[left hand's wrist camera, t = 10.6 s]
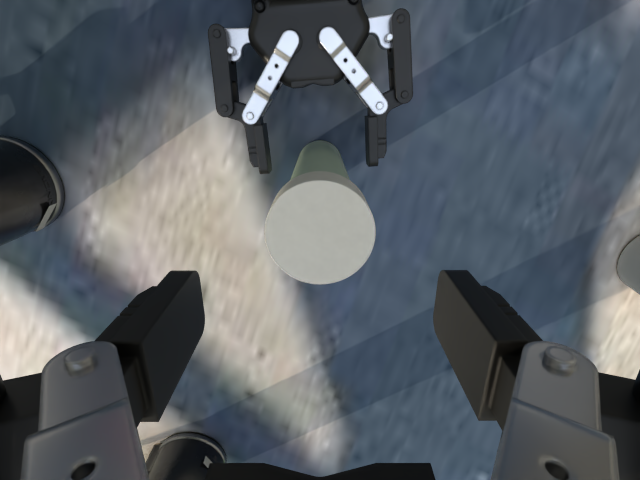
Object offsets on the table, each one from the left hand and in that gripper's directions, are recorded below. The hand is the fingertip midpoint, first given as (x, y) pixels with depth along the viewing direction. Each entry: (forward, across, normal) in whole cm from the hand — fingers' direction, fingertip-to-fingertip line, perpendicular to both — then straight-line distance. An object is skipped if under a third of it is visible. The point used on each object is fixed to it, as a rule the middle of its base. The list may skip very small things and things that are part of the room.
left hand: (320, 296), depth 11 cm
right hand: (+19, 0, +1) cm, 19 cm away
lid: (+6, 0, 0) cm, 6 cm away
